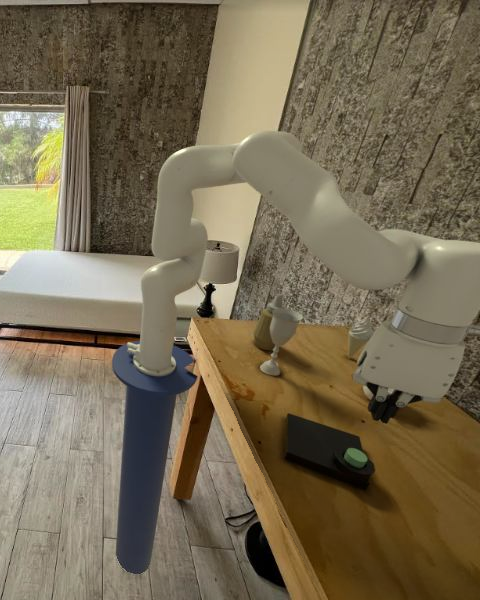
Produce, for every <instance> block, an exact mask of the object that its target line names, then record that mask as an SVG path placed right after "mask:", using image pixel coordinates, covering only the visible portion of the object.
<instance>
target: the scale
mask: <svg viewBox="0 0 480 600" xmlns="http://www.w3.org/2000/svg"><path fill="white" fill-rule="evenodd" d="M349 448H354V449H357V450H359V451H361V452H363V453H364V451H363V446H362V442H361V437H360V435H356V434H353V433H351V432H347V431H344V430H341V429H338V428H336V427H332V426H328V425H325V424H322V423H320V422H317V421H314V420H312V419H311V420H310V419H307V418H304V417H302V416H299V415H296V414H292V413H289V412H287V414H286V416H285V420H284V449H283V450H284V453H283V455H284V457H283V459H284V460H286V461H288V462H291V463H293V464H295V465H299V466H301V467H303V468H306V469H309V470H310V471H314V472H317V473H319V474H322V475H324V476H327V477H329V478H332V479H334V480H337V481H339V482H342V483H344V484H347V485H350V486H352V487H354V488H357V489H360V490H363V491H367V490H368V488H369V486H370V484H371V481H370V479H372V477H373V476H374V474H375V472H376V467H375V464H374V462H373V461H372V460H371V459H370V458H369V457H368V456H367V455H366V457H367V462H366V464H365V465H364V467H363V468H357V467H354V466H352V465H351V464H349V463H348V462H346V460H345V459H344V455H345V453H346V451H347V449H349Z"/></svg>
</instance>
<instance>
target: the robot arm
mask: <svg viewBox="0 0 480 600" xmlns="http://www.w3.org/2000/svg"><path fill="white" fill-rule="evenodd" d="M157 179H158V180H157V193H156V194H157V195H156V196H157V197H156V198H157V199H156V208H155V213H154V214H155V215H154V221H153V228H152V236H151V252H152V254H153V256H154V257H155V258H156V259H157V260H159V261H162V262H159V263H157V264H155V265H152V266H150V267H149V268H147V269H146V270H145V271H144V273H143V274H142V276H141V279H140V291H141V297H142V306H141V307H142V308H141V325H140V336H139V337H140V338H139V341H140V344H138V345H136V344H133V343H131V342H130V341H128V342H127V343H126V344H127V348H128V351H127V352H129V353H133V354H134V357H133V363H134V366H135V367H136V368H137V369H138V370H139V371H141V372H142V373H144V374H147V375H151V376H166V375H169V374H171V373H172V372H173V371H174V370H175V367H176V361H175V359H174V358H173V357H172V350H173V345H174V342H175V334H176V327H177V319H178V307H177V304H176V302H175V301H176V300H175V298H176V297H177V296H178V295H180V294H182V293H184V292H187V291H189V290H191V289H193V288H194V287H195V286H196V285H197V284H198V283H199V280H200V278H201V274H202V270H203V266H204V260H205V258H206V257H205V256H206V251H207V248H208V242H209V241H208V239H209V237H208V235H209V234H208V231H207V228H206V226H205V224H204V223H203V222H202V221H201V220H199V219H197V218H194V217H192V216H193V212H194V205H195V204H194V197H193V194H192V192H193V191H195V190H199V189H207V188H208V189H209V188H215V187H216V188H217V187H223V186H229V185H237V184H245V183H247V184H248V185H249V186H250V187H251V188H252V189H253V190H255V191H256V192H257V193H259V194H260V195H261V196H262V197H263V198H264V199H266V200H267V201H268V202H269V203H271V204H272V205H273V206H274V207H275V208H276V210H278V211H280V212H281V213H282V214H283V215H284V216H285V217H286V218H287V219H288V220H289V223H290V225H291V228H293V230H294V231H295V232H296V234H297V236H298V237H299V239H300V240H301V242H302V243H303V244H304V246H305V247H306V248H307V249H308V250H309V252H310V253H311V254H312V255H313V256H314V257H316V259H318V260H319V261H320V262H321V263H322V264H323V265H325V266H326V267H327V268H328V269H329V270H330V271H331V272H333V273H334V274H335V275H336V276H337V277H339V278H340V279H341V280H343V281H344V282H346V283H347V284H349V285H351V286H353V287H355V288H358V289H361V290H367V291H381V290H385V289H386V290H387V289H389V288H392V287H394V286H396V285H398V284H399V283H401V282H402V281H403V280H406V281H407V282H408V284H407V286H406V288H405V290H404V292H403V294H402V296H401V299H400V300H399V303H398V304H397V307H396V309H395V311H394V314H393V315H392V318H391V319H390V320H383V321H382V322H381V323H380V324H379V325H378V327H377V328H376V329H375V331H373V335H372V336H371V337H370V339H369V340H368V341H367V342H366V343H365V346H364V347H363V348H362V351H361V353H360V354H359V356H358V358H357V361H356V366H357V368H356V369H355V370H354V371H353V372H352V374H351V379H352V381H353V382H355V383H357V384H359V385H361V386H362V387H363V386H366V387H368V389H369V390H370V391H371V392H372V394H373V396H372V398H371V400H369V402H368V405H367V411H368V412H370V414H371V415H370V416H371V418H372V421H376V422H379V421H380V423H382V424H385V425H387V424H388V423H389V421H390V419H394V418H395V417H396V415H397V414H398V411H399V410H400V408H405V407H406V406H407V405H408V404H409V405H410V404H414V403H418V402H424V403H434V404H439V403H440V402H442V397H444V396H445V395H446V394H447V393H448V391H449V390H450V388H451V386H452V384H453V383H454V381H455V378H456V376H457V374H458V372H459V369H460V367H461V364H462V361H463V358H464V353H465V350H466V349H465V348H466V342H465V339H466V338H467V336H476V337H479V336H480V326H478V325H475V324H473V322H474V320H475V318H476V317H477V315H478V314H479V313H480V242H478V241H477V242H476V241H470V240H469V241H468V240H461V239H460V240H459V239H442V238H438V237H434V236H433V237H432V236H428V235H425V234H421V233H418V232H413V231H409V230H404V229H398V228H388V229H382V230H377V229H375V228H374V227H372V226H371V225H370V224H369V223H367V222H366V221H365V220H363V219H362V218H361V217H360V216H359V215H358V214H357V213H355V212H354V211H353V210H352V209H351V208H350V207H349V205H348V204H347V203H346V202H345V200H344V199H343V197H342V194H341V191H340V186H339V183H338V181H337V178H336V177H335V176H334V175H333V174H332V173H331V172H330V171H328V170H326V169H325V168H323V166H321V165H320V164H318V163H317V162H316V161H314V160H313V159H312V158H310V157H309V156H307V155H306V154H305V153H303V149H302V145H301V142H300V140H299V139H298V138H297V136H295V135H294V134H292V133H290V132H287V131H279V130H277V131H276V130H260V131H256V132H254V133H251V134H250V135H248V136H246V137H245V138H243V139H242V140H241V141H240V142H234V143H230V144H219V145H218V144H217V145H216V144H215V145H211V144H205V145H204V144H203V145H200V144H199V145H192V146H188V147H184V148H182V149H179V150H178V151H176V152H174V153H172V154H171V155H170V156H169V157H168V158H167V159H166V160H165V161H164V163H163V164H162V166H161V168H160V171H159V174H158V178H157ZM389 388H392V389H395V390H394V391H393V392H392V394H390V395H389V394H388V395H387V392H388V389H389Z"/></svg>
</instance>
